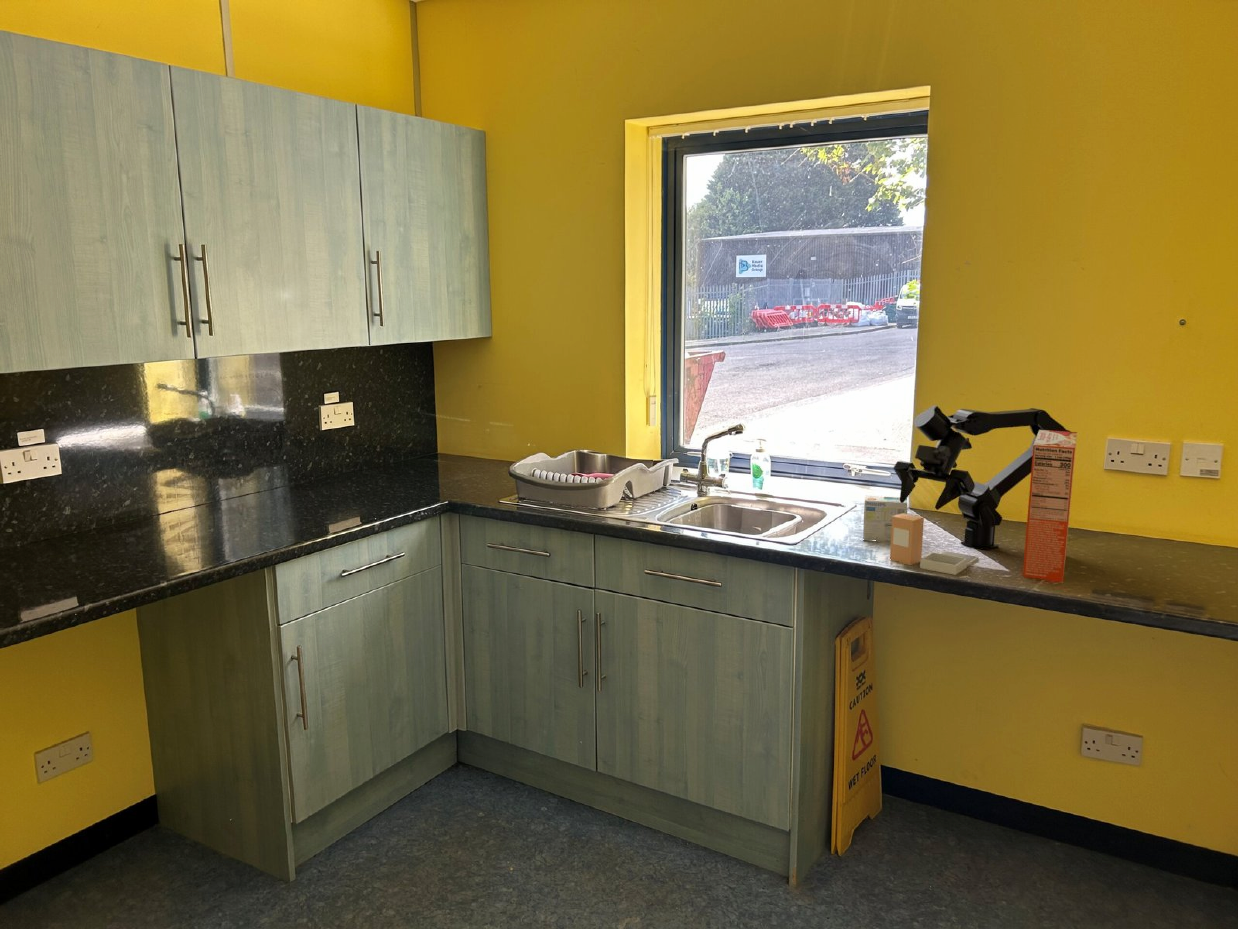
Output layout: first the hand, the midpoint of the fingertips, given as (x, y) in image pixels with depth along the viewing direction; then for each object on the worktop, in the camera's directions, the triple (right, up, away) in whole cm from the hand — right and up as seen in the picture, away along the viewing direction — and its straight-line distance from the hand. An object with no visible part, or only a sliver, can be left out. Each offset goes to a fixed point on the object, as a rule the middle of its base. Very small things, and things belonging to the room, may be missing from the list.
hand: (918, 505), depth 217 cm
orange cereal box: (+28, -14, -4) cm, 32 cm away
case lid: (+9, -13, +1) cm, 16 cm away
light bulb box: (-2, -10, +20) cm, 22 cm away
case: (+4, -14, -6) cm, 16 cm away
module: (-3, -13, 0) cm, 14 cm away
